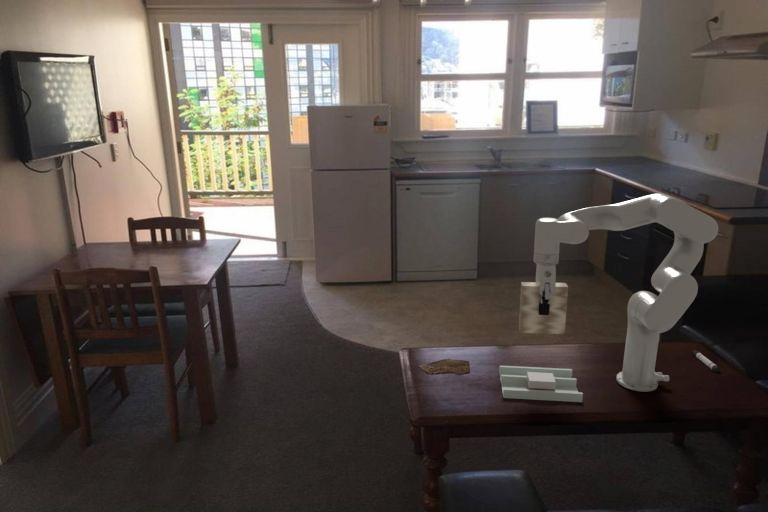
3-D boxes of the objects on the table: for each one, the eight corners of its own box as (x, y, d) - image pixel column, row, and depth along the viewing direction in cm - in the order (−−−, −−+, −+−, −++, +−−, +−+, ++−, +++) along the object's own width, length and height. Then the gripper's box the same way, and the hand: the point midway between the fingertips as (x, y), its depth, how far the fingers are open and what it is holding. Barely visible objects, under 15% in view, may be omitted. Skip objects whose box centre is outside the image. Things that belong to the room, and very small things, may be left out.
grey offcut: (551, 380, 179) (552, 373, 178) (555, 389, 173) (555, 382, 173) (526, 378, 180) (527, 371, 179) (529, 388, 174) (529, 380, 174)
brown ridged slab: (419, 375, 190) (419, 372, 190) (417, 361, 201) (417, 358, 201) (494, 375, 191) (494, 372, 190) (488, 360, 201) (488, 357, 201)
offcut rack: (570, 377, 188) (571, 368, 187) (582, 404, 171) (583, 394, 170) (498, 374, 190) (499, 364, 189) (503, 400, 174) (503, 390, 173)
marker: (719, 372, 191) (720, 367, 191) (713, 372, 191) (714, 367, 191) (694, 352, 206) (695, 348, 205) (689, 353, 206) (690, 348, 205)
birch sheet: (562, 329, 181) (565, 282, 177) (564, 334, 177) (568, 286, 173) (518, 327, 183) (521, 282, 178) (520, 332, 179) (522, 286, 174)
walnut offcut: (551, 387, 180) (551, 380, 179) (554, 396, 174) (555, 389, 173) (526, 385, 181) (526, 378, 180) (528, 395, 175) (529, 388, 174)
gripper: (563, 265, 165) (559, 322, 170) (553, 250, 181) (550, 303, 186) (537, 264, 166) (534, 321, 171) (530, 250, 182) (527, 302, 187)
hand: (542, 311), depth 178 cm, fingers closed on birch sheet, 4 cm apart
